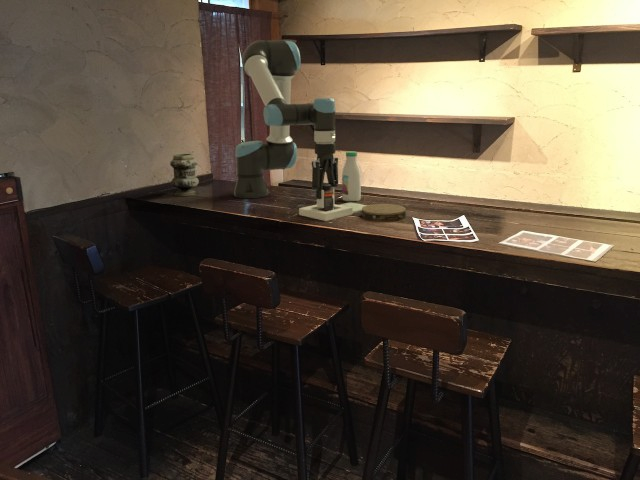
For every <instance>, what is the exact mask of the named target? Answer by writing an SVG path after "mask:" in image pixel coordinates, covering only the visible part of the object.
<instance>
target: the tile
mask: <svg viewBox="0 0 640 480" xmlns="http://www.w3.org/2000/svg"><path fill="white" fill-rule="evenodd" d="M340 205H341V206H347V207H352V208H353V214H355V213H359V212H362V208H363V207H364V206H367V205H365V204H362V203H357V202H352V201H349V202H346V203H341V204H340Z"/></svg>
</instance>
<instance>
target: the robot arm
mask: <svg viewBox="0 0 640 480" xmlns="http://www.w3.org/2000/svg"><path fill="white" fill-rule="evenodd" d="M300 53H301V52H300V50H299V48H298V46H297V44H296V43H295V42H294V41H292V40H291V41H289V40H264V39H263V40H262V39H260V40H259V39H258V40H255V41H253V42H251V43H249V45H248V46H247V47H245V50H244V52H243V54H242V57H241V58H242V59H241V63H242V67H243V70H244V72H245V73H246V75H247V76H249V77H250V79H251V80H252V82H253V85H254V86H255V88H256V91H257V93H258V95H259V96H260V98H261V100H262V104H263V105H264V107H263V118H264V123H265V125H266V126H269V135H268V136H267V137H266V143H263V141H261V140H252V141H245V142H241V143H238V144H237V145H236V147H235V155H234V156H235V160H236V161H235V165H236V177H237V179H236V182H235V186H234V189H233V195H234V197H235V198H238V199H258V198H264V197H267V196H268V195H269V188H268V185H267V182H266V180H265V175H264V171H271V170H272V171H274V170H287V169H291V168H293V167H294V166H295V165H296V162H297V159H298V149H297V144H296V143H295V142H293V138H292V137H291V136H290V126H306V125H313V127H314V130H313V131H314V132H313V133H314V136H313V138H314V140H313V141H314V142H315V143H314V154H315V155H317V156H316V160H315V161H311V168H312V169H311V171H312V172H311V173H312V174H311V175H312V176H311V177H312V178H311V189H312V190H314V191H315V192H316V193H315V197H316V205H317V207H319V208H324V190H322V188H323V184H324V181H325V175H326V178H327V184H330V185H331V190H332V191H333V193H334V195H336V194H335V190H336V189H335V188H337V187H338V185H339V168H338V163H339V158H338V157H334V154H336V143H335V142H336V103H335V102H336V100H335V99H334V98H333V97H325V98H324V97H321V98H320V97H319V98H317V97H316V98H315V99H314V100H313V102H307V103H291V95H292V94H291V93H292V91H291V89H292V79H293V78H295V75H296V74H295V73H296V72H297V71H299V70H300V68H301V54H300ZM334 204H335V200H334Z"/></svg>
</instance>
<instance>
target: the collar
mask: <svg viewBox="0 0 640 480" xmlns="http://www.w3.org/2000/svg"><path fill="white" fill-rule="evenodd" d="M298 210H299V211H298V213H299V216H303V217H307V218H311V219H315V220H320V221H323V222H329V221H332V220H336V219H339V218H343V217H347V216H351V215H353V214H354V213H353V208H352V207H347V206H341V204H334V210H331V211H326V212H325V211H320V210H318V207H317V204H313V205H309V206H308V205H307V206H304V207H299V208H298Z"/></svg>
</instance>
